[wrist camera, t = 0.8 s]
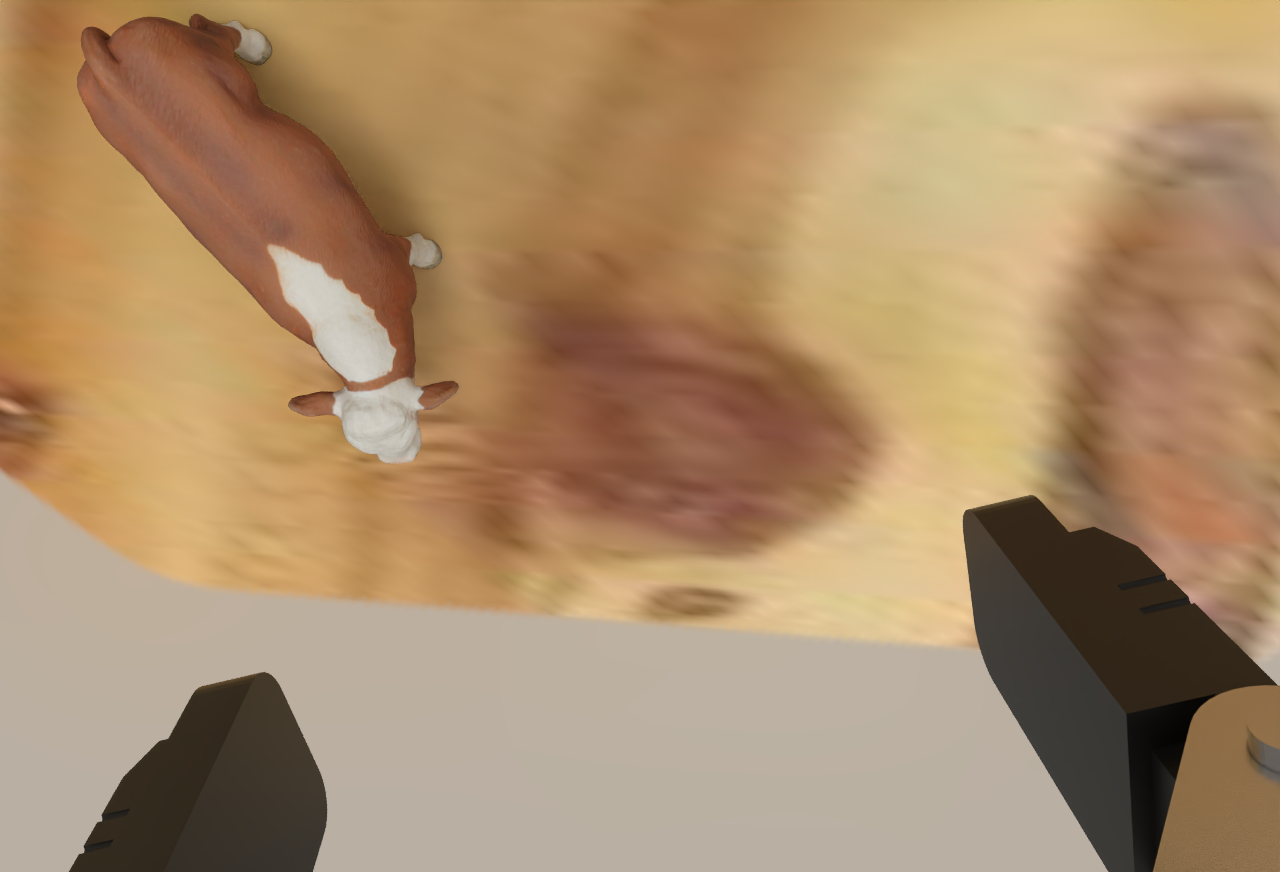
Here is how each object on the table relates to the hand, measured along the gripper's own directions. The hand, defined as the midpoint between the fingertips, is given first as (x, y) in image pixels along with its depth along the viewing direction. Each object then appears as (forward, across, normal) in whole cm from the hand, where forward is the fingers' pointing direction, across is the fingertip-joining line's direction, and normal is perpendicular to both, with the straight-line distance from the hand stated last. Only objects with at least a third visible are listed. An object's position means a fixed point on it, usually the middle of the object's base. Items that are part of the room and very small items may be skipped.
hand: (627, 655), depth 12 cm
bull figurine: (+24, +8, -3) cm, 25 cm away
